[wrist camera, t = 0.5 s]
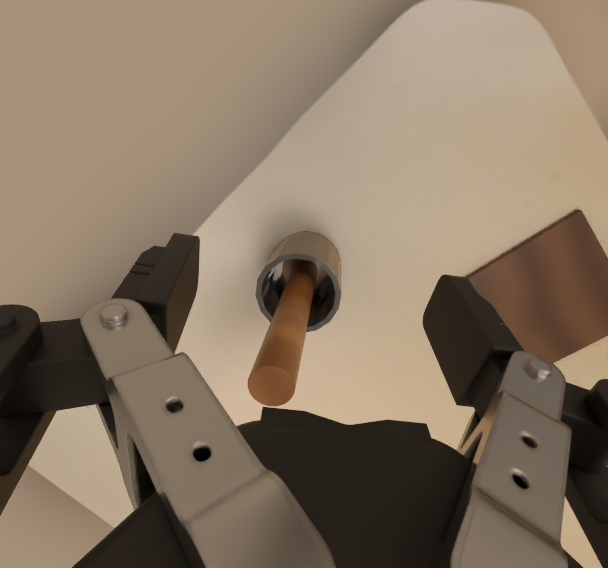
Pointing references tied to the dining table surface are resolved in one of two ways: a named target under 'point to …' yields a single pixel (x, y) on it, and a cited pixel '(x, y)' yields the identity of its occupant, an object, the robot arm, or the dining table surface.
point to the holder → (312, 250)
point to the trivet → (551, 289)
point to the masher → (286, 335)
